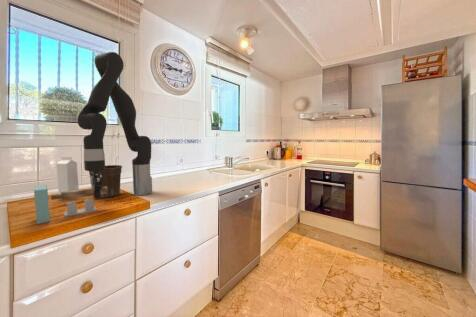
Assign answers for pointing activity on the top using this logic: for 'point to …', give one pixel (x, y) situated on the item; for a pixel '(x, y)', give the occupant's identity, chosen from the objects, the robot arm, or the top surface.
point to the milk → (67, 175)
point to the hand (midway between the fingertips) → (96, 197)
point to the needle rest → (88, 208)
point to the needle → (78, 193)
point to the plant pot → (111, 180)
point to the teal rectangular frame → (42, 204)
